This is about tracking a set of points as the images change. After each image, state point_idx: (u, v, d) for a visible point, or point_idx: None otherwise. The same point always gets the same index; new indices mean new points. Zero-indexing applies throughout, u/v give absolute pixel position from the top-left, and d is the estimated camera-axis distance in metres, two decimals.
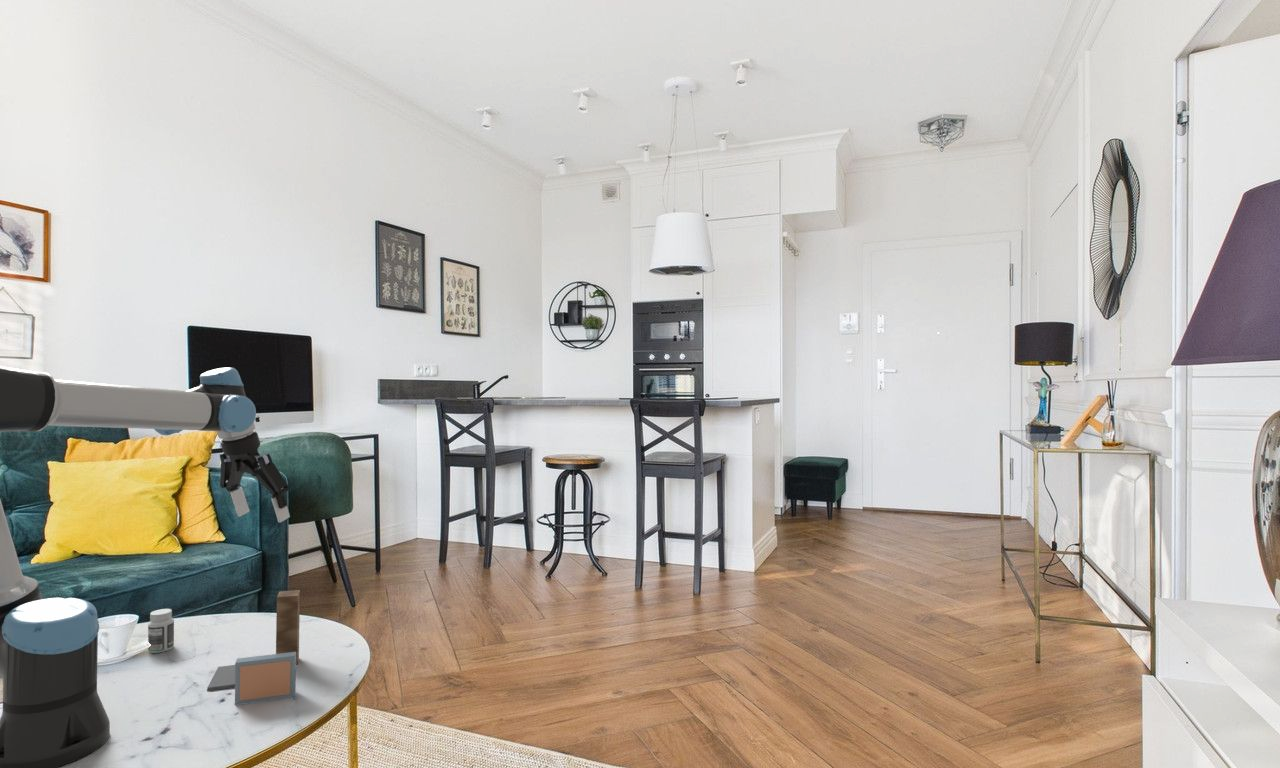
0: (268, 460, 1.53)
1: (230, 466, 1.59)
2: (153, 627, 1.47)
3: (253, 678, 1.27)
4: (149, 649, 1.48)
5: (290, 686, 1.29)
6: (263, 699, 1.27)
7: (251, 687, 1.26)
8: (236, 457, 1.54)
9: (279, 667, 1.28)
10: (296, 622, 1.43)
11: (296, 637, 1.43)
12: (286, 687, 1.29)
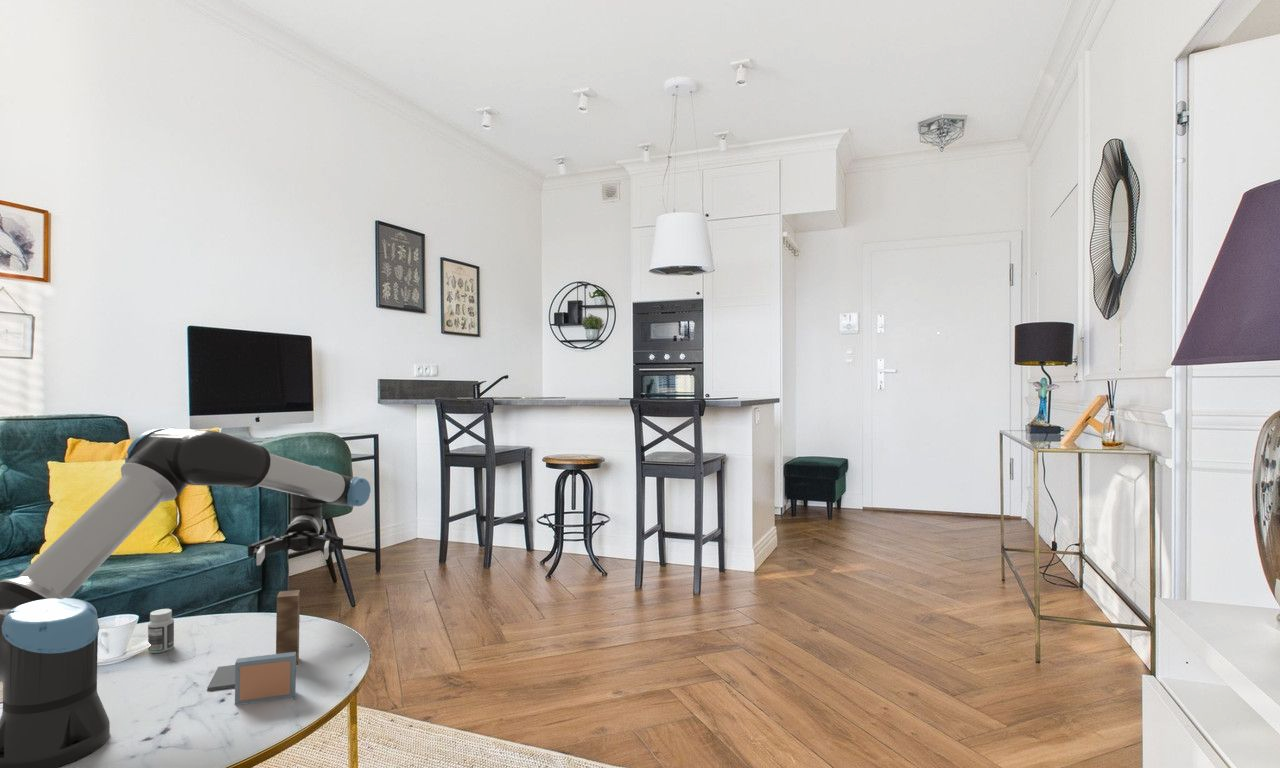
0: None
1: None
2: (153, 627, 1.47)
3: (253, 678, 1.27)
4: (149, 649, 1.48)
5: (290, 686, 1.29)
6: (263, 699, 1.27)
7: (251, 687, 1.26)
8: None
9: (279, 667, 1.28)
10: (296, 622, 1.43)
11: (296, 637, 1.43)
12: (286, 687, 1.29)
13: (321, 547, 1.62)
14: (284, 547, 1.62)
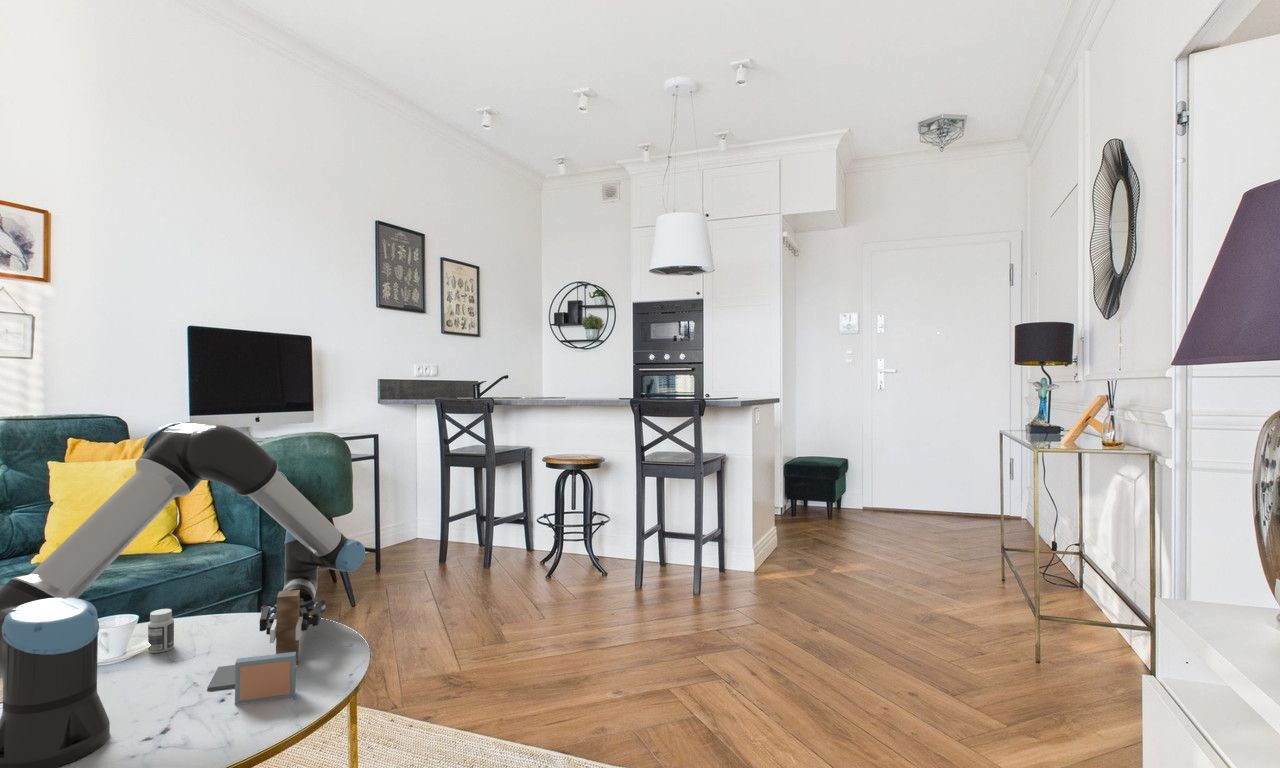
0: (322, 609, 1.55)
1: (268, 617, 1.50)
2: (153, 627, 1.47)
3: (253, 678, 1.27)
4: (149, 649, 1.48)
5: (290, 686, 1.29)
6: (263, 699, 1.27)
7: (251, 687, 1.26)
8: None
9: (279, 667, 1.28)
10: (296, 622, 1.43)
11: None
12: (286, 687, 1.29)
13: None
14: None
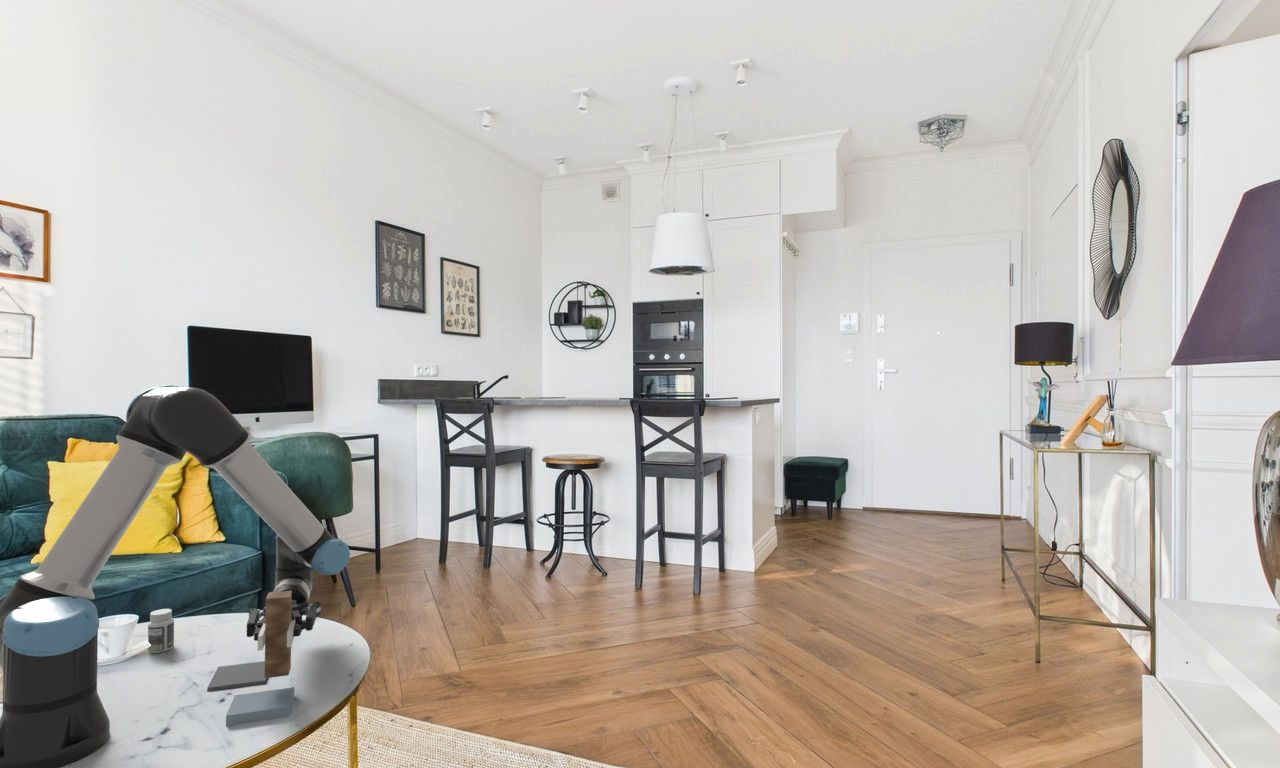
0: (317, 612, 1.40)
1: (257, 620, 1.34)
2: (153, 627, 1.47)
3: None
4: (149, 649, 1.48)
5: None
6: None
7: None
8: None
9: None
10: (287, 627, 1.27)
11: None
12: None
13: None
14: None
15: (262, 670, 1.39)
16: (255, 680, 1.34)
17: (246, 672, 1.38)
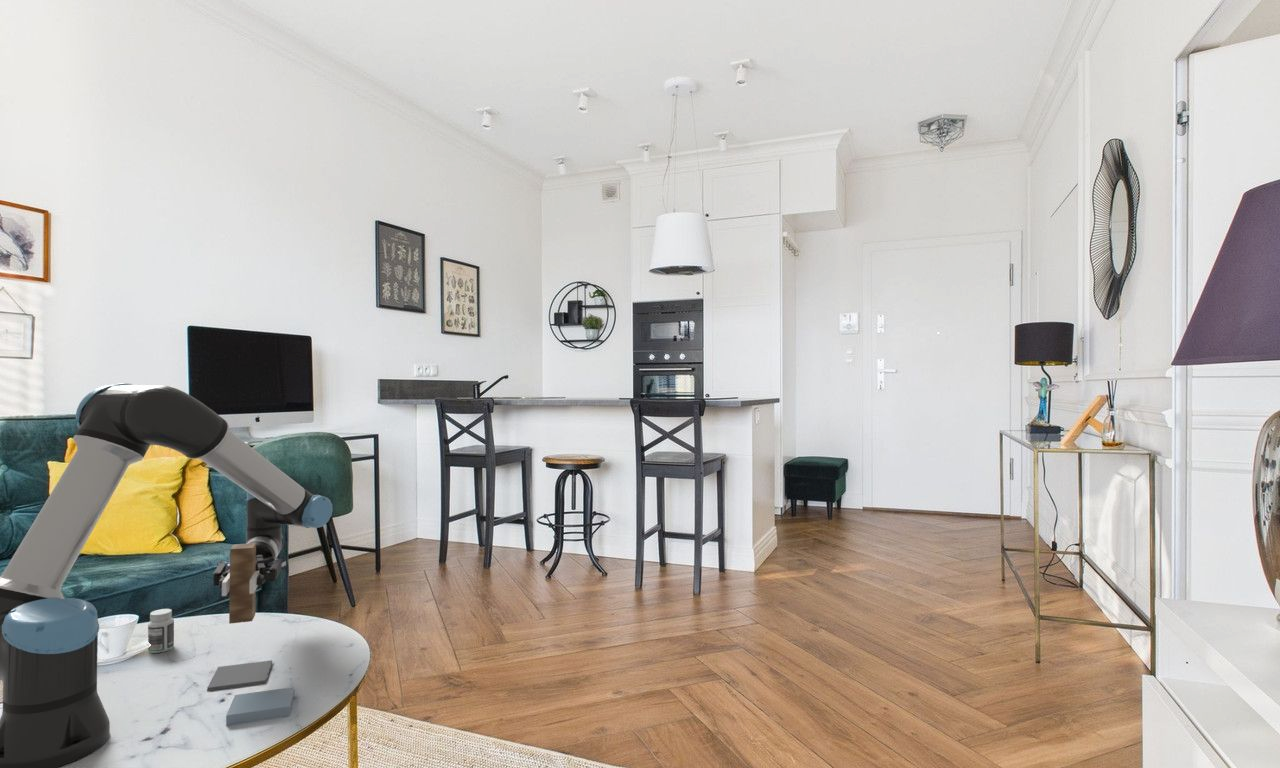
0: (282, 566, 1.49)
1: None
2: (153, 627, 1.47)
3: None
4: (149, 649, 1.48)
5: None
6: None
7: None
8: None
9: None
10: (251, 576, 1.36)
11: None
12: None
13: None
14: None
15: (262, 670, 1.39)
16: (255, 680, 1.34)
17: (246, 672, 1.38)
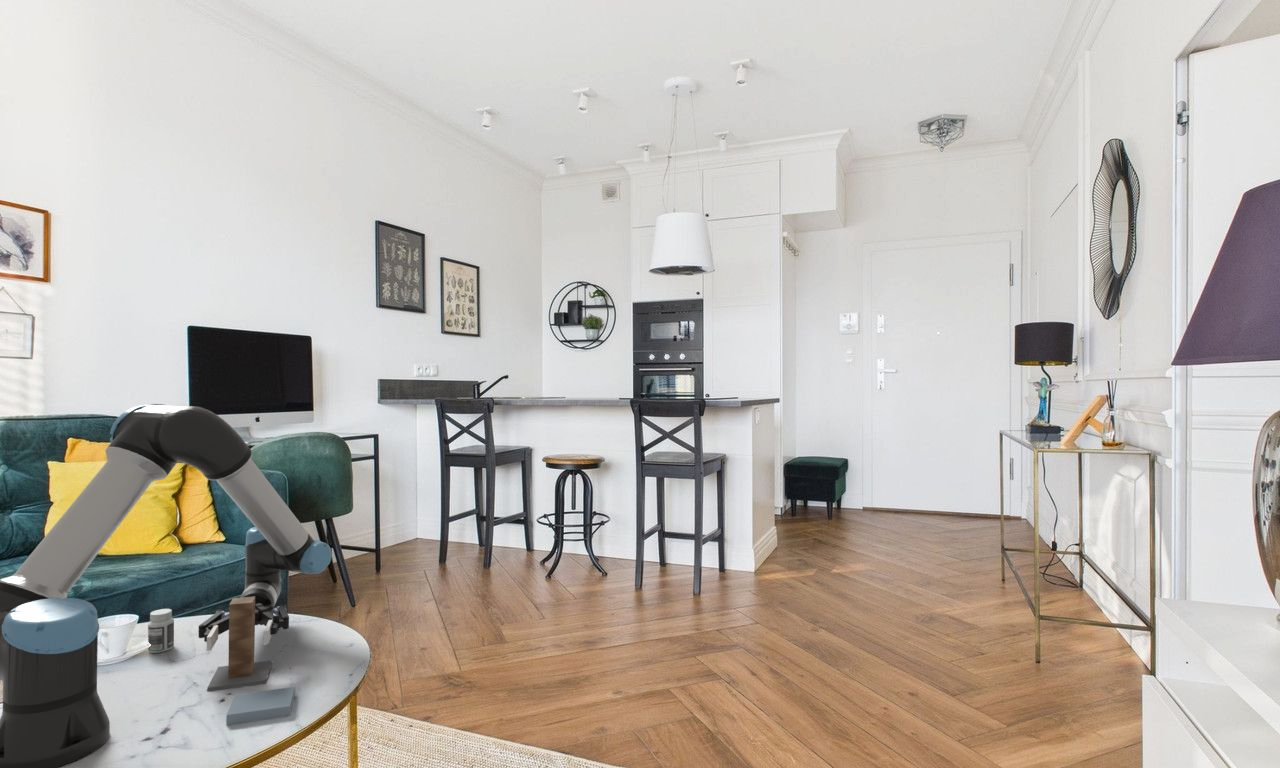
0: None
1: None
2: (153, 627, 1.47)
3: None
4: (149, 649, 1.48)
5: None
6: None
7: None
8: None
9: None
10: (250, 630, 1.36)
11: (250, 646, 1.36)
12: None
13: None
14: None
15: (262, 670, 1.39)
16: (255, 680, 1.34)
17: None
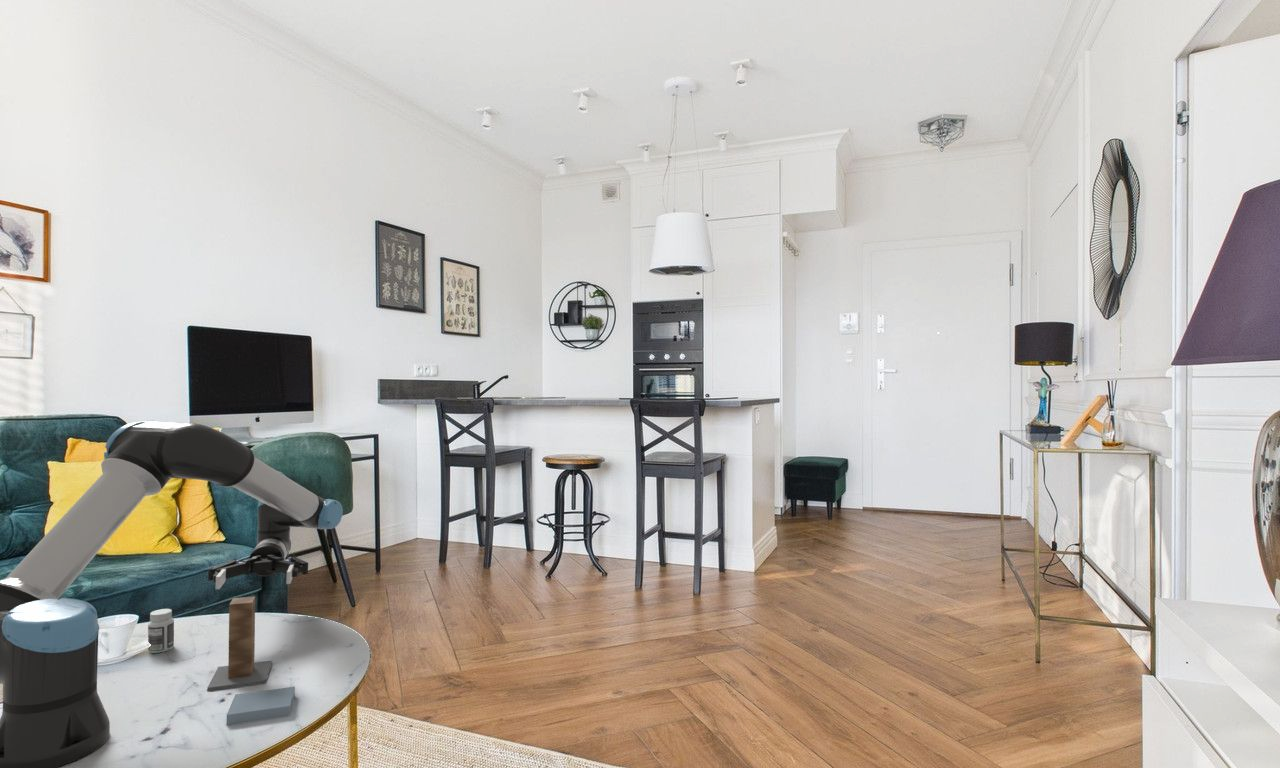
0: None
1: None
2: (153, 627, 1.47)
3: None
4: (149, 649, 1.48)
5: None
6: None
7: None
8: None
9: None
10: (250, 630, 1.36)
11: (250, 646, 1.36)
12: None
13: (285, 571, 1.58)
14: (247, 571, 1.57)
15: (262, 670, 1.39)
16: (255, 680, 1.34)
17: None
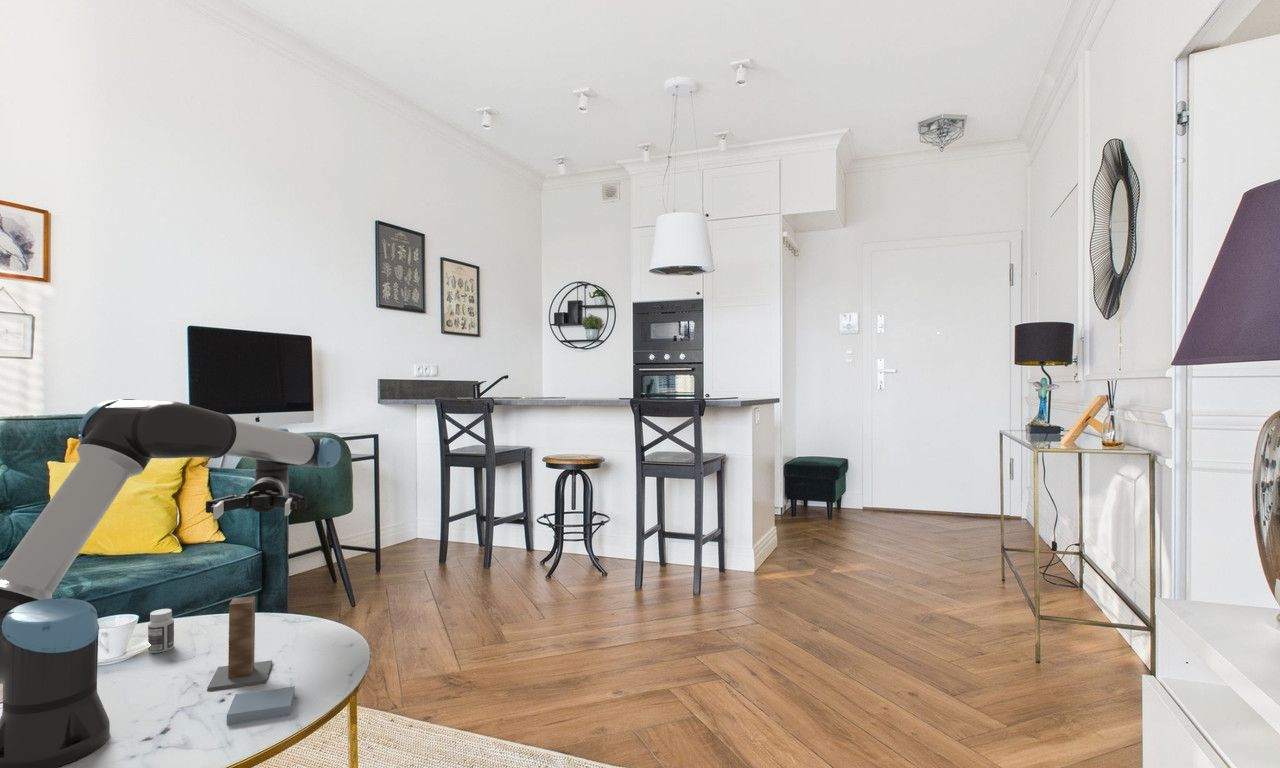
0: None
1: None
2: (153, 627, 1.47)
3: None
4: (149, 649, 1.48)
5: None
6: None
7: None
8: None
9: None
10: (250, 630, 1.36)
11: (250, 646, 1.36)
12: None
13: (283, 506, 1.57)
14: (245, 505, 1.56)
15: (262, 670, 1.39)
16: (255, 680, 1.34)
17: None
